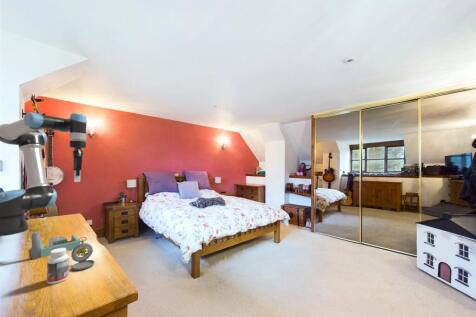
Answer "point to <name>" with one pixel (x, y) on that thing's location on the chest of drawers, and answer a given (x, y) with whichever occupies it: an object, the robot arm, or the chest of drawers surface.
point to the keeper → (41, 251)
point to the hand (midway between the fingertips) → (77, 181)
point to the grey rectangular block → (57, 241)
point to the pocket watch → (82, 261)
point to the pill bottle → (57, 266)
